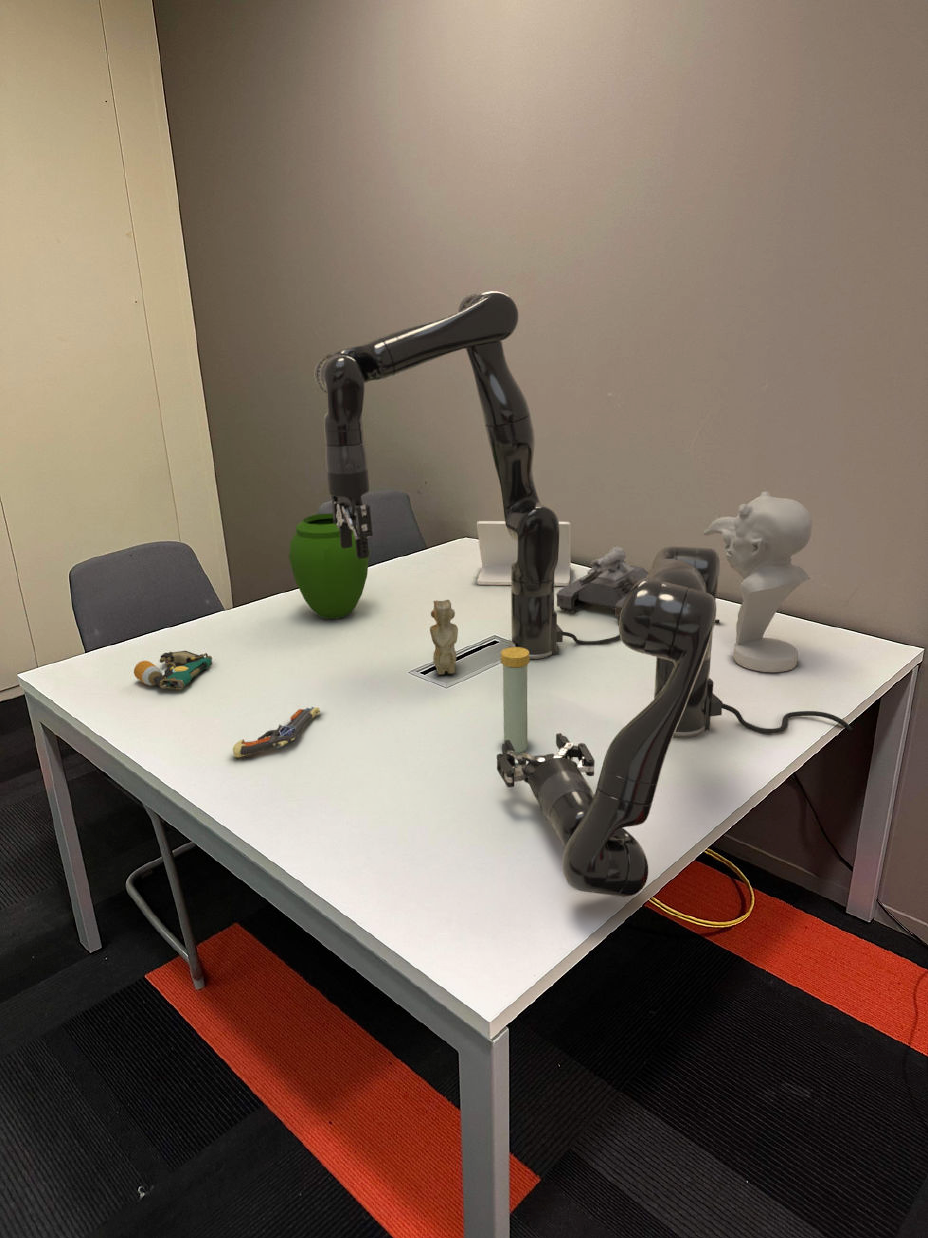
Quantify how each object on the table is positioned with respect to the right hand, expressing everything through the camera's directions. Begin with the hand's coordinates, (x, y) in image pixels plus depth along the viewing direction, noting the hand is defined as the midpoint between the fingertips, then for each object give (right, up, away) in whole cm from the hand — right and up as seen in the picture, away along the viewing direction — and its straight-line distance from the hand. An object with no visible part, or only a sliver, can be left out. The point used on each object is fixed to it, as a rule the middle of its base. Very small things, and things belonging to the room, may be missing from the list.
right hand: (532, 741), depth 137 cm
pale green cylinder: (-2, -3, +12) cm, 12 cm away
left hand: (-32, +32, +26) cm, 53 cm away
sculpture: (-15, +9, +43) cm, 46 cm away
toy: (+27, +23, +78) cm, 86 cm away
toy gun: (-45, -2, +18) cm, 48 cm away
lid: (-3, +14, +6) cm, 15 cm away
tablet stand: (+6, +32, +102) cm, 107 cm away
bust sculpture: (+49, +11, +45) cm, 68 cm away
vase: (-43, +21, +77) cm, 91 cm away
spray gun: (-72, +7, +44) cm, 85 cm away
